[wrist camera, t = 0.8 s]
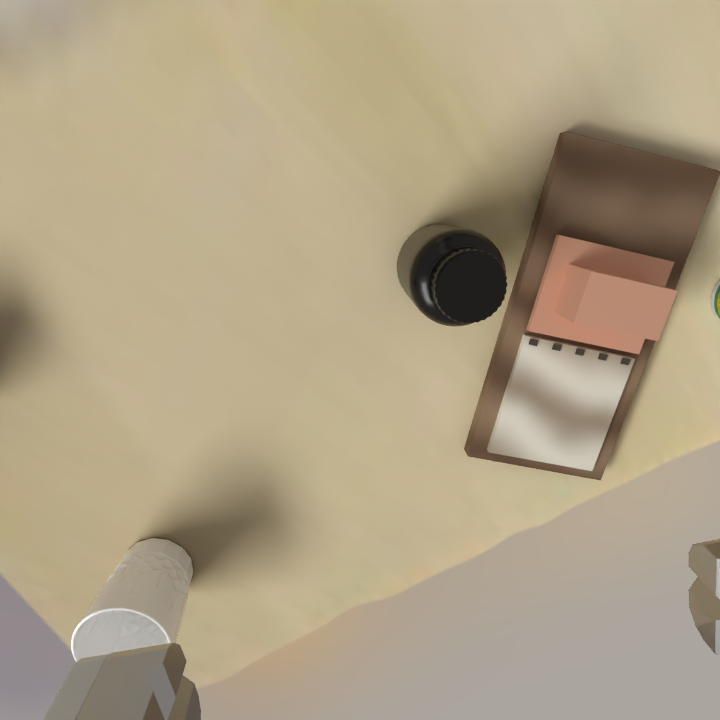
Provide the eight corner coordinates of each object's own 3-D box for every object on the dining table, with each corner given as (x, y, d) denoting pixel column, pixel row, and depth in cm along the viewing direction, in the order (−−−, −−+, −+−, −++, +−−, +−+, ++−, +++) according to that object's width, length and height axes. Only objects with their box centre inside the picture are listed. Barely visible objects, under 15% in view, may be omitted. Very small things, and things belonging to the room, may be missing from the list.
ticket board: (560, 133, 44) (571, 130, 42) (708, 171, 45) (727, 171, 43) (464, 448, 52) (470, 460, 50) (593, 472, 53) (604, 484, 51)
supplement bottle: (491, 274, 47) (543, 302, 36) (423, 319, 48) (453, 361, 36) (449, 204, 45) (489, 211, 34) (379, 253, 46) (396, 276, 35)
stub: (556, 234, 44) (581, 239, 40) (670, 260, 46) (706, 268, 41) (526, 329, 47) (546, 344, 42) (635, 352, 48) (666, 369, 43)
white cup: (155, 516, 52) (116, 590, 43) (216, 567, 54) (192, 649, 45) (99, 566, 53) (49, 648, 44) (161, 613, 56) (126, 702, 46)
